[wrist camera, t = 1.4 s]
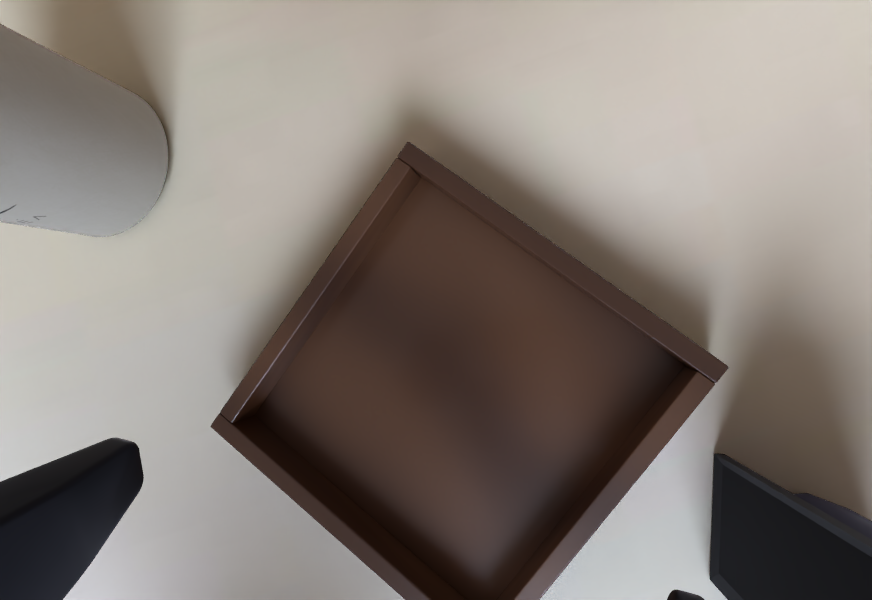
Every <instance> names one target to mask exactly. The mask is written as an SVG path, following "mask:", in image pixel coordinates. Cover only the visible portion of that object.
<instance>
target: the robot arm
mask: <svg viewBox="0 0 872 600" xmlns="http://www.w3.org/2000/svg"><path fill="white" fill-rule="evenodd" d="M143 478H144V477H143V470H142V464H141V458H140V453H139V448H138V446H137V445H136V443H134V442H131V441H128V440H124V439H120V438H110V439H107V440H104V441H102V442H99V443H97V444H94V445H92V446H89V447H87V448H84V449H82V450H79V451H77V452H74V453H72V454H69V455H67V456H64V457H62V458H59V459H57V460H54V461H52V462H49V463H47V464H44V465H41V466H39V467H36V468H34V469H31V470H29V471H26V472H24V473H21V474H19V475H16V476H14V477H11V478H9V479H6V480H4V481H1V482H0V600H63V598H64V597H65V596H66V595H67V594H68V592H69V591H70V590H71V589H72V587H73V586H74V585H75V584H76V582H77V581H78V580H79V578H80V577H81V576H82V575H83V573H84V572H85V571H86V569H87V568H88V566H89V565H90V564H91V562H92V561H93V559H94V558H95V556H96V555H97V554H98V552H99V551H100V549H101V548H102V546H103V545H104V543H105V542H106V540H107V539H108V537H109V536H110V534H111V533H112V531H113V530H114V528H115V527H116V525H117V524H118V522H119V521H120V519H121V518H122V516H123V515H124V513H125V512H126V511H127V509H128V508H129V506H130V505H131V503H132V502H133V500H134V499H135V497H136V496H137V494H138V493H139V491H140V489H141V487H142V484H143ZM667 600H704V599H703V598H702V597H701V596H698V595H695V594H692V593H688V592H684V591H681V590H673V591H672V592H671V593H670V594H669V596H668V599H667Z"/></svg>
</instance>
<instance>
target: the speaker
mask: <svg viewBox="0 0 872 600" xmlns="http://www.w3.org/2000/svg"><path fill="white" fill-rule="evenodd" d="M710 580H711V581H712V582H713V584H714V585H715V586H716V587H717V588H718V589H719V590H720V591H721V593H722V594H723V595H724V596H725V597H726V598H727V599H728V600H872V521H870V520H868V519H867V518H865V517H863V516H861V515H859V514H857V513H856V512H854V511H852V510H850V509H848V508H845V507H842V506H840V505H837V504H834V503H832V502H829V501H827V500H824V499H821V498H819V497H816V496H813V495H811V494H808V493H802V494H792V493H790V492H789V491H787V490H785V489H783V488H782V487H780V486H778V485H777V484H775V483H773V482H771V481H770V480H768V479H766V478H764V477H763V476H761V475H759V474H758V473H756V472H754V471H752V470H751V469H749V468H747V467H745V466H744V465H742V464H740V463H739V462H737V461H735V460H733V459H732V458H730V457H728V456H727V455H725V454H714V478H713V505H712V532H711V560H710Z"/></svg>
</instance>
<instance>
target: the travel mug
mask: <svg viewBox="0 0 872 600" xmlns="http://www.w3.org/2000/svg"><path fill="white" fill-rule="evenodd" d="M167 168H168V145H167V140H166V135H165V132H164V129H163V126H162V124H161V122H160V120H159V118H158V116H157V114H156V113H155V112H154V110H153V109H152V108H151V107H150V105H149V104H148V103H147V102H146V101H145V100H143V99H142V98H141V97H139V96H138V95H136V94H135V93H133V92H131V91H129V90H127V89H125V88H123V87H121V86H119V85H117V84H116V83H114V82H112V81H110V80H108V79H106V78H104V77H102V76H100V75H98V74H96V73H94V72H92V71H90V70H88V69H87V68H85V67H83V66H81V65H79V64H77V63H75V62H73V61H71V60H69V59H67V58H65V57H63V56H61V55H60V54H58V53H56V52H54V51H52V50H50V49H48V48H46V47H44V46H42V45H40V44H38V43H36V42H34V41H33V40H31V39H29V38H27V37H25V36H23V35H21V34H19V33H17V32H15V31H13V30H11V29H9V28H7V27H5V26H4V25H2V24H0V222H3V223H10V224H16V225H23V226H29V227H35V228H42V229H48V230H55V231H61V232H68V233H74V234H80V235H87V236H94V237H105V236H112V235H116V234H119V233H122V232H124V231H126V230H128V229H130V228H131V227H133V226H134V225H136V224H137V223H138V222H139V221H141V220H142V219H143V218H144V217H145V216H146V215H147V214H148V212H149V211H150V210H151V209H152V207H153V206H154V204H155V203H156V201H157V199H158V197H159V195H160V193H161V191H162V188H163V186H164V182H165V179H166V174H167Z"/></svg>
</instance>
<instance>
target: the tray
mask: <svg viewBox="0 0 872 600" xmlns="http://www.w3.org/2000/svg"><path fill="white" fill-rule="evenodd" d="M727 369H728V366H727V365H726V364H724V363H723V362H722V361H720V360H719V359H717V358H716V357H715V356H713V355H712V354H710V353H709V352H707V351H706V350H705V349H703V348H702V347H700V346H699V345H697V344H696V343H695V342H693V341H692V340H690V339H689V338H687V337H686V336H685V335H683V334H682V333H680V332H679V331H678V330H676V329H675V328H673V327H672V326H670V325H669V324H668V323H666V322H665V321H663V320H662V319H660V318H659V317H658V316H656V315H655V314H653V313H652V312H650V311H649V310H648V309H646V308H645V307H643V306H642V305H640V304H639V303H638V302H636V301H635V300H633V299H632V298H631V297H629V296H628V295H626V294H625V293H623V292H622V291H621V290H619V289H618V288H616V287H615V286H613V285H612V284H611V283H609V282H608V281H606V280H605V279H603V278H602V277H601V276H599V275H598V274H596V273H595V272H594V271H592V270H591V269H589V268H588V267H586V266H585V265H584V264H582V263H581V262H579V261H578V260H576V259H575V258H574V257H572V256H571V255H569V254H568V253H566V252H565V251H564V250H562V249H561V248H559V247H558V246H557V245H555V244H554V243H552V242H551V241H549V240H548V239H547V238H545V237H544V236H542V235H541V234H539V233H538V232H537V231H535V230H534V229H532V228H531V227H529V226H528V225H527V224H525V223H524V222H522V221H521V220H520V219H518V218H517V217H515V216H514V215H512V214H511V213H510V212H508V211H507V210H505V209H504V208H502V207H501V206H500V205H498V204H497V203H495V202H494V201H492V200H491V199H490V198H488V197H487V196H485V195H484V194H482V193H481V192H480V191H478V190H477V189H475V188H474V187H473V186H471V185H470V184H468V183H467V182H465V181H464V180H463V179H461V178H460V177H458V176H457V175H455V174H454V173H453V172H451V171H450V170H448V169H447V168H445V167H444V166H443V165H441V164H440V163H438V162H437V161H436V160H434V159H433V158H431V157H430V156H428V155H427V154H426V153H424V152H423V151H421V150H420V149H418V148H417V147H416V146H414V145H413V144H411V143H410V142H407V143H406V145H405V146H404V148H403V149H402V151H401V152H400V153H399V155H398V158H396V160H395V161H394V162H393V164H392V165H391V167H390V168H389V170H388V171H387V173H386V174H385V175H384V177H383V178H382V180H381V181H380V183H379V184H378V185H377V187H376V188H375V190H374V191H373V193H372V194H371V196H370V197H369V198H368V200H367V201H366V203H365V204H364V206H363V207H362V209H361V210H360V211H359V213H358V214H357V216H356V217H355V219H354V220H353V221H352V223H351V224H350V226H349V227H348V229H347V230H346V232H345V233H344V234H343V236H342V237H341V239H340V240H339V242H338V243H337V245H336V246H335V247H334V249H333V250H332V252H331V253H330V255H329V256H328V258H327V259H326V260H325V262H324V263H323V265H322V266H321V268H320V269H319V270H318V272H317V273H316V275H315V276H314V278H313V279H312V281H311V282H310V283H309V285H308V286H307V288H306V289H305V291H304V292H303V294H302V295H301V296H300V298H299V299H298V301H297V302H296V304H295V305H294V307H293V308H292V309H291V311H290V312H289V314H288V315H287V317H286V318H285V319H284V321H283V322H282V324H281V325H280V327H279V328H278V330H277V331H276V332H275V334H274V335H273V337H272V338H271V340H270V341H269V343H268V344H267V345H266V347H265V348H264V350H263V351H262V353H261V354H260V355H259V357H258V358H257V360H256V361H255V363H254V364H253V366H252V367H251V368H250V370H249V371H248V373H247V374H246V376H245V377H244V379H243V380H242V381H241V383H240V384H239V386H238V387H237V389H236V390H235V392H234V393H233V394H232V396H231V397H230V399H229V400H228V402H227V403H226V404H225V406H224V407H223V409H222V410H221V412H220V414H219V415H218V416H217V417H216V419H215V420H214V422H213V423H212V425H211V427H212V428H213V429H214V430H215V431H216V432H217V433H218V434H219V435H221V436H222V437H223V438H224V439H225V440H226V441H227V442H228V443H230V444H231V445H232V446H233V447H234V448H235V449H236V450H237V451H239V452H240V453H241V454H242V455H243V456H244V457H245V458H246V459H248V460H249V461H250V462H251V463H252V464H253V465H254V466H255V467H257V468H258V469H259V470H260V471H261V472H262V473H263V474H264V475H266V476H267V477H268V478H269V479H270V480H271V481H272V482H273V483H275V484H276V485H277V486H278V487H279V488H280V489H281V490H282V491H284V492H285V493H286V494H287V495H288V496H289V497H290V498H291V499H293V500H294V501H295V502H296V503H297V504H298V505H299V506H300V507H302V508H303V509H304V510H305V511H306V512H307V513H308V514H310V515H311V516H312V517H313V518H314V519H315V520H316V521H317V522H319V523H320V524H321V525H322V526H323V527H324V528H325V529H326V530H328V531H329V532H330V533H331V534H332V535H333V536H334V537H335V538H337V539H338V540H339V541H340V542H341V543H342V544H343V545H344V546H346V547H347V548H348V549H349V550H350V551H351V552H352V553H353V554H355V555H356V556H357V557H358V558H359V559H360V560H361V561H362V562H364V563H365V564H366V565H367V566H368V567H369V568H370V569H371V570H373V571H374V572H375V573H376V574H377V575H378V576H379V577H380V578H382V579H383V580H384V581H385V582H386V583H387V584H388V585H389V586H391V587H392V588H393V589H394V590H395V591H396V592H397V593H398V594H400V595H401V596H402V597H403V598H404V599H405V600H540V599H541V597H542V596H543V595H544V594H545V592H546V591H547V590H548V589H549V587H550V586H551V585H552V584H553V583H554V581H555V580H556V579H557V578H558V576H559V575H560V574H561V573H562V572H563V570H564V569H565V568H566V567H567V565H568V564H569V563H570V562H571V561H572V559H573V558H574V557H575V556H576V554H577V553H578V552H579V551H580V549H581V548H582V547H583V546H584V545H585V543H586V542H587V541H588V540H589V538H590V537H591V536H592V535H593V534H594V532H595V531H596V530H597V529H598V527H599V526H600V525H601V524H602V523H603V521H604V520H605V519H606V518H607V516H608V515H609V514H610V513H611V511H612V510H613V509H614V508H615V507H616V505H617V504H618V503H619V502H620V500H621V499H622V498H623V497H624V496H625V494H626V493H627V492H628V491H629V489H630V488H631V487H632V486H633V484H634V483H635V482H636V481H637V480H638V478H639V477H640V476H641V475H642V473H643V472H644V471H645V470H646V469H647V467H648V466H649V465H650V464H651V462H652V461H653V460H654V459H655V458H656V456H657V455H658V454H659V453H660V451H661V450H662V449H663V448H664V446H665V445H666V444H667V443H668V442H669V440H670V439H671V438H672V437H673V435H674V434H675V433H676V432H677V431H678V429H679V428H680V427H681V426H682V424H683V423H684V422H685V421H686V419H687V418H688V417H689V416H690V415H691V413H692V412H693V411H694V410H695V408H696V407H697V406H698V405H699V404H700V402H701V401H702V400H703V399H704V397H705V396H706V395H707V394H708V393H709V391H710V390H711V389H712V388H713V386H714V385H715V383H716V382H718V380H719V379H720V378H721V377H722V375H723V374H724V373H725V372H726V370H727Z"/></svg>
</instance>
